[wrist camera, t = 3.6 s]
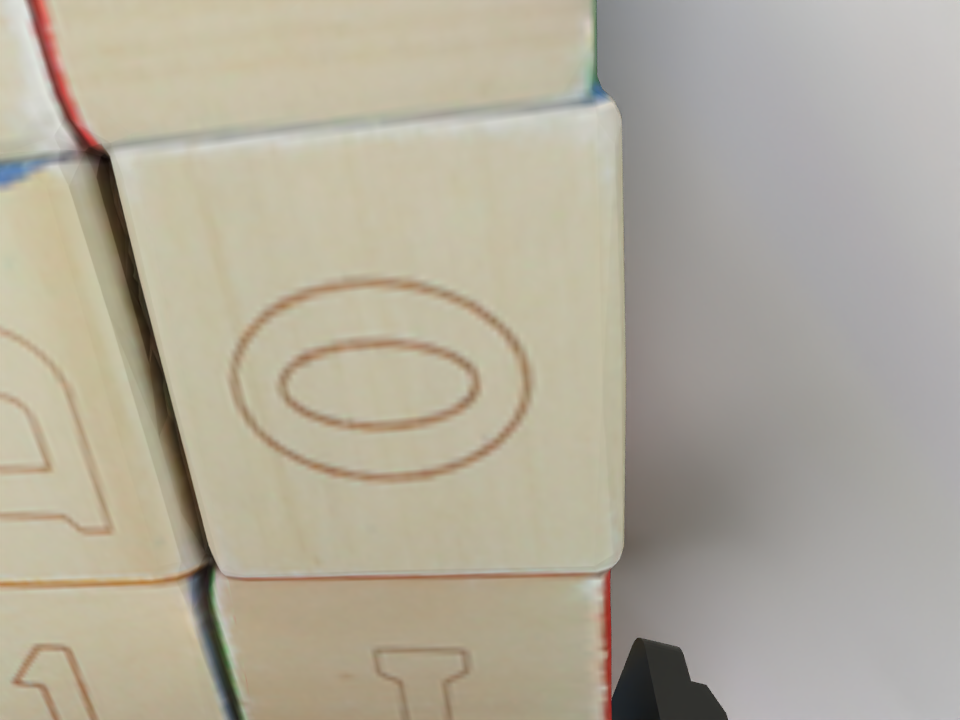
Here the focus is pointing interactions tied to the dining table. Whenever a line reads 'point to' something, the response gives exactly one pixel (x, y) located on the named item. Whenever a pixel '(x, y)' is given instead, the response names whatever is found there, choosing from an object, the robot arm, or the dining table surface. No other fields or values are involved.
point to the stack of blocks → (308, 360)
